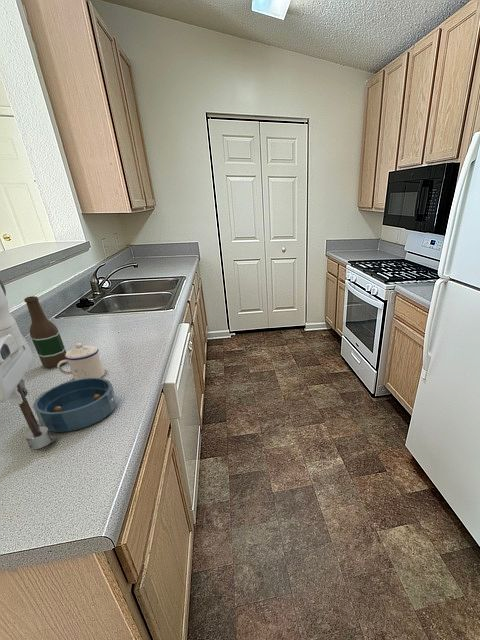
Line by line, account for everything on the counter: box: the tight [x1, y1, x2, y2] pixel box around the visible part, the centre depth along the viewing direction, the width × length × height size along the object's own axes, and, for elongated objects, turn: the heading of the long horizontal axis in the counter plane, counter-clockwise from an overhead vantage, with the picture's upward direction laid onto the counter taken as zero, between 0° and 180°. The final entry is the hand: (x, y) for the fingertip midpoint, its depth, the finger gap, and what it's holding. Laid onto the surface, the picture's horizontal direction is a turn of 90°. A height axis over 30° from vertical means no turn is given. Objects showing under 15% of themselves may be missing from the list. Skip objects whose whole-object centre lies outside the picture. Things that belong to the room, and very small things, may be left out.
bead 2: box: [94, 394, 102, 400], centre depth 94 cm, size 2×2×2 cm
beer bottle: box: [23, 295, 68, 369], centre depth 112 cm, size 8×8×24 cm
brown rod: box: [17, 384, 53, 450], centre depth 74 cm, size 4×4×18 cm
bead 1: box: [53, 406, 63, 412], centre depth 89 cm, size 2×2×2 cm
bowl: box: [33, 377, 118, 433], centre depth 89 cm, size 18×18×6 cm
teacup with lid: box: [56, 342, 106, 380], centre depth 105 cm, size 12×9×12 cm
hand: (21, 399), depth 72 cm, fingers closed on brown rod
